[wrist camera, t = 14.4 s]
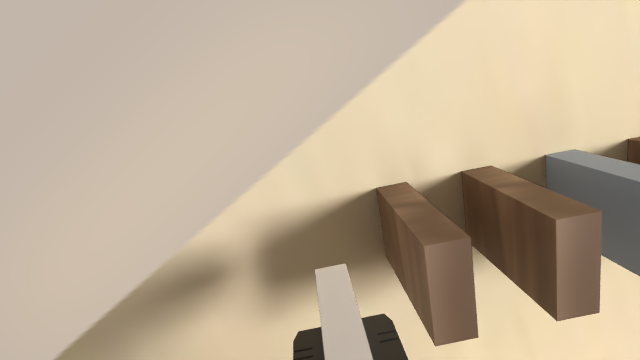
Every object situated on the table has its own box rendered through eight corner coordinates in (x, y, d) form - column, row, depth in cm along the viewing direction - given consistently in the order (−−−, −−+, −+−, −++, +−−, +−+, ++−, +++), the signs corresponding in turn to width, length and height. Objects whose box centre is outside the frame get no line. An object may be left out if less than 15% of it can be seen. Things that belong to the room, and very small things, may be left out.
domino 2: (466, 240, 26) (557, 321, 17) (461, 171, 24) (556, 220, 16) (495, 235, 26) (599, 312, 17) (490, 165, 24) (601, 211, 16)
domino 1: (386, 256, 25) (435, 346, 17) (376, 187, 24) (424, 246, 15) (414, 250, 25) (478, 337, 17) (406, 181, 24) (470, 237, 15)
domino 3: (575, 149, 24) (730, 185, 16) (574, 219, 26) (718, 288, 17) (545, 155, 24) (685, 194, 16) (546, 224, 26) (676, 296, 17)
